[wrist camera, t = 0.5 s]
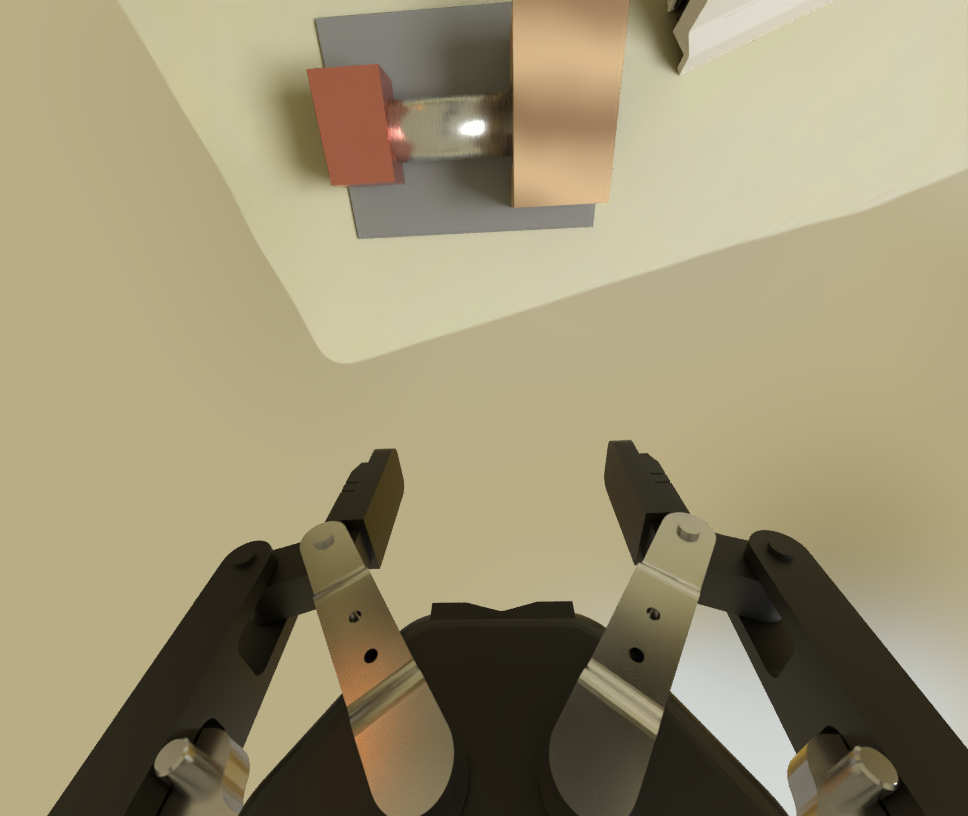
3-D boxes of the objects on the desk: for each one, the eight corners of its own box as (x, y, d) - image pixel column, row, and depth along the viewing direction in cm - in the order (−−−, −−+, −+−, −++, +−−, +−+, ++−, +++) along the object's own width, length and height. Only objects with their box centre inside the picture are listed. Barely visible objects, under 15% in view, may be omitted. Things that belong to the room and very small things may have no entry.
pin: (352, 188, 32) (331, 185, 28) (332, 88, 29) (306, 69, 25) (522, 177, 31) (526, 173, 27) (523, 74, 28) (527, 52, 24)
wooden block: (509, 37, 27) (513, -5, 22) (603, 30, 27) (631, -15, 21) (511, 207, 33) (514, 207, 27) (589, 203, 32) (608, 202, 27)
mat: (316, 19, 27) (315, 18, 27) (612, -5, 26) (613, -7, 26) (359, 238, 35) (358, 238, 34) (592, 226, 33) (593, 226, 33)
